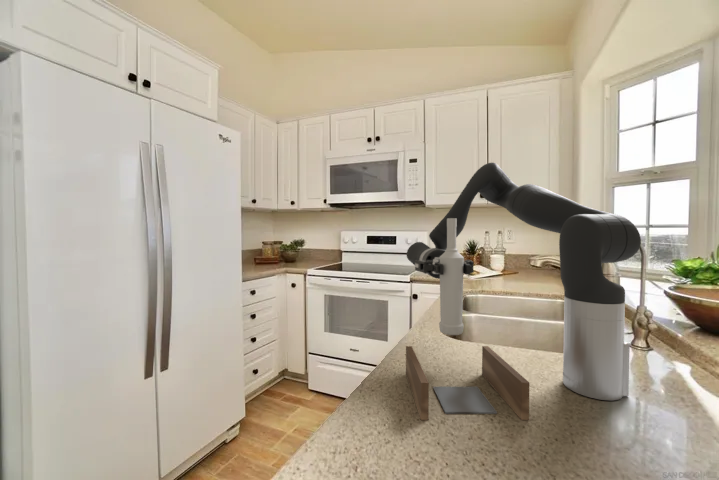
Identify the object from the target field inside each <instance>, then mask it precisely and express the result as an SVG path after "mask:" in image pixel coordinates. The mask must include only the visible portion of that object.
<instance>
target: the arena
mask: <svg viewBox="0 0 719 480" xmlns="http://www.w3.org/2000/svg"><path fill="white" fill-rule="evenodd" d="M481 348H482V349H481V352H482V353H481V354H482V355H481V359H482V360H481V375H482V377H484V378H485V380H486V381H487V382H488V383H489V385H490V386H491V387H492V388H493V389H494V391H496V393H498V395H499V396H500V397H501V398H502V399H503V401H504V402H505V403H506V404H507V405H508V406H509V407H510V409H511V410H512V411H513V412H514V413H515V414H516V415H517V416H518V417H519V419H520V420H521V421H529V420H530V382H529V380H527V379H526V378H525V377H524V376H523V375H521V374H520V373H519V372H518V371H517V370H515V368H514V367H512V366H511V365H510V364H509V363H508V362H507V361H505V360H504V359H503V358H502V357H501V356H500V355H499V354H498V353H497V352H496V351H494V350H493V349H492V348H491V347H490V346H487V345H482V347H481ZM405 376H406V379H407V382H408V384H409V385H408V386H409V388H410V391H411V394H412V396H413V400H414V403H415V406H416V409H417V412H418V416H419V419H420V420H421V421H429V420H430V419H429V418H430V416H429V411H430V410H429V408H430V407H429V406H430V405H429V403H430V401H429V400H430V399H429V398H430V397H429V395H430V392H429V390H430V389H429V387H430V382H429V380H428V378H427V375H426V374H425V372H424V369H423V367H422V366H421V363H420V361H419V358H418V357H417V355H416V353H415V350H414V348H413V346H412V345H406V346H405ZM432 389H433V391H434V393H435V395H436V398H437V399H438V402H439V403H440V406H441V408H442V410H443V412H444V414H447V415H448V414H451V415H452V414H453V415H454V414H455V415H456V414H460V415H461V414H464V415H465V414H466V415H467V414H468V415H469V414H470V415H471V414H472V415H473V414H474V415H477V414H478V415H479V414H480V415H481V414H483V415H484V414H488V415H489V414H491V415H492V414H495V415H496V414H498V411H497V410H496V409H495V407H494V406H493V405H492V403H490V401H489V400H488V397H486V396H485V395H484V393H483V392H482V390H480V388H479V386H433V387H432Z"/></svg>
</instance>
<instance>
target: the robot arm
mask: <svg viewBox="0 0 719 480" xmlns="http://www.w3.org/2000/svg"><path fill="white" fill-rule="evenodd" d="M477 194H480V195H481V196H482V198H484V199H485V200H487V202H490V203H491V204H494V205H496V206H500V207H502V208H504V209H506V210H507V211H508V212H509V213H511V215H513V216H514V217H516V218H517V219H519V220H520V221H522V222H524V223H525V224H527V225H530V226H532V227H534V228H537V229H540V230H544V231H548V232H552V233H556V234H557V233H558V234H559V242H558V243H559V244H558V245H559V249H558V250H559V265H560V266H559V269H560V280H561V282H562V283H561V284H562V286H563V292H564V296H563V297H564V301H563V305H564V306H563V351H562V352H563V354H562V355H563V357H562V358H563V361H562V383H563V385H564V386H565V387H566V388H567V389H569V390H570V391H572V392H575V393H576V394H579V395H580V396H584V397H588V398H592V399H596V400H602V401H618V400H621V399H622V398H623V397H628V396H629V389H630V388H629V387H630V386H629V384H630V343H627V342H625V320H626V319H625V317H626V316H625V312H626V307H625V306H626V291H625V288H624V286H622V284H619V283H616V282H614V281H611V280H610V279H608V278H607V277H606V276H605V275H604V272H603V264H613V263H620V262H624V261H626V260H629V259H630V258H632V257H634V256H635V255H636V254H637V253H638V252H639V250H640V248H641V244H642V238H641V234H640V231H639V230H638V228H637V227H636V225H635V224H634V223H633V222H632V221H630V219H628V218H626V217H624V216H622V215H620V214H616V213H611V212H608V211H602V210H599V209H596V208H592V207H589V206H586V205H584V204H581V203H579V202H576V201H575V200H572V199H570V198H567V197H565V196H563V195H561V194H558V193H557V192H554V191H551V190H550V189H547V188H545V187H543V186H539V185H538V184H537V185H536V184H533V183H532V184H531V183H528V184H527V183H526V184H523V185H520V186H519V185H518V184H516V183H515V182H514V181H513V180H512V179H511V178H510V177H509V176H508V174H506V172H505V171H504V169H502V168H501V167H500V165H499V164H498V163H496V162H488V163H486V164H484V165H482V166H481V167H479V168H478V169H477V170H476V171H475V172H474V174H473V175H472V176H471V178H470V179H469V181H468V182H467V183H466V185H465V187H464V188H463V189H462V191H461V193H460V194H459V196H458V197H457V199H456V200H455V202H454V203H453V205H452V206H451V208H450V209H449V211H448V212H447V213H446V214H445V216H444V217H443V218H442V219H441V220H440V221H439V223H438V224H437V225H436V226H435V227H433V229H432V230H431V232H430V233H429V235H428V237H429V239H430V241H431V242H432V244H434V246H435V247H430V246H428V245H427V244H426V243H424V242H421V241H417V242H414V243H412V244H411V245H410V246H409V247H408V248H407V250H406V258H407V260H408V261H409V262H410V263H411V264H412V265H413V266H414V271H417V272H421V273H423V274H425V275H429V276H430V277H432V278H434V279H437V280H440V275H443V264H440V260H439V257H440V256H441V255H442V254H443V253H444V252H445V250H446V249H447V219H448V218H457V227H456V238H458V236H459V235H460V234H461V233H462V231H463V230H464V228H465V226H466V223H467V220H468V215H469V211H470V208H471V205H472V203H473V201H474V199H475V198H476V196H477ZM474 263H475V261H473V260H471V259H464V271H463V275H468V276H469V275H471V274H473V273H474V272H475V271H474Z"/></svg>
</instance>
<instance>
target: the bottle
mask: <svg viewBox="0 0 719 480" xmlns="http://www.w3.org/2000/svg"><path fill="white" fill-rule="evenodd" d="M456 227H457V218H448V219H447V249H446V250H445V252H444V253H443V254H442V255H441V256H440V257H439V260H440V264H443V275H440V279H439V298H440V299H439V306H440V307H439V308H440V309H439V310H440V311H439V312H440V313H439V315H440V316H439V317H440V321H439V323H438V325H439V326H438V328H439V331H440V333H442V334H444V335H449V336H458V335H462V334H463V331H464V323H463V307H464V305H463V304H464V302H463V299H464V274H463V271H464V260H465V257H464V256H463V255H462V254H461V253H460V252H459V249H458V248H457V237H456Z"/></svg>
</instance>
